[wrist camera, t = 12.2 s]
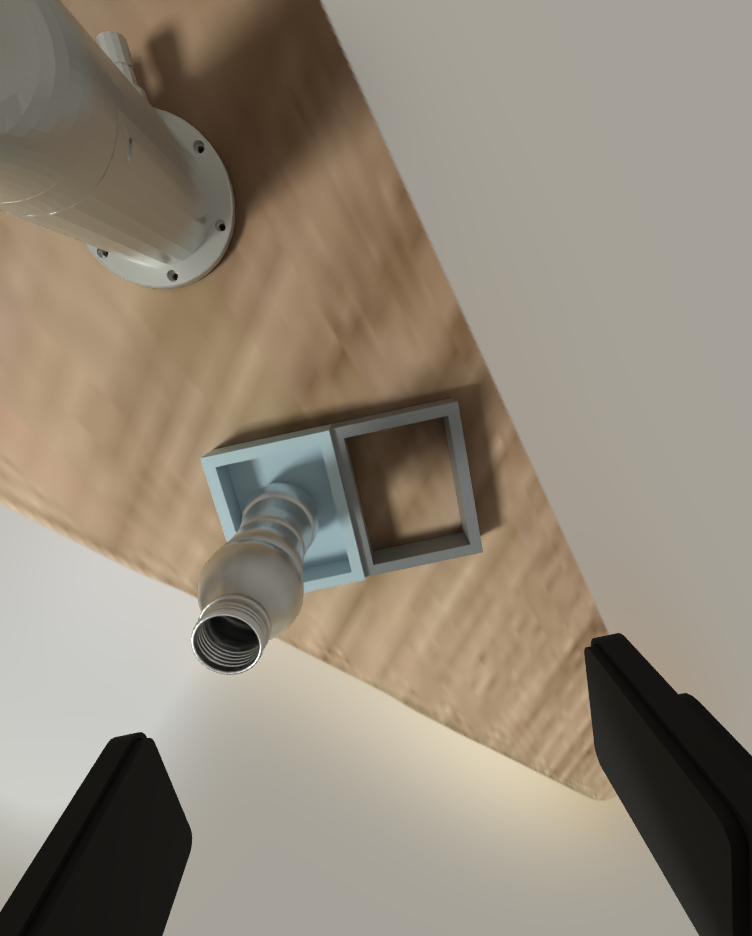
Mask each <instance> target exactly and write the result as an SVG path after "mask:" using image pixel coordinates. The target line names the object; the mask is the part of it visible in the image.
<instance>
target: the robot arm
mask: <svg viewBox="0 0 752 936" xmlns="http://www.w3.org/2000/svg"><path fill="white" fill-rule="evenodd" d="M96 42H97V43H96ZM96 42H95V41H94V39H93V38H92V37H91V36H90V35H89V34H88V32H87V31H86V30H85V29H84V28H83V26H82V25H81V24H80V23H79V22H78V20H77V19H76V18H75V17H74V16H73V15H72V14H71V12H70V11H69V10H68V9H67V8H66V7H65V6H64V5H63V4H62V2H61V1H60V0H0V211H3V212H6V213H8V214H11V215H13V216H16V217H19V218H21V219H24V220H26V221H29V222H32V223H34V224H37V225H39V226H42V227H45V228H47V229H50V230H52V231H55V232H57V233H60V234H63V235H65V236H68V237H70V238H73V239H76V240H78V241H81V242H83V243H84V244H85V246H86V247H87V249H88V250H89V251H90V252H91V254H92V255H93V256H94V257H95V258H96V259H97V260H98V261H99V262H100V263H101V264H102V265H103V266H105V267H106V268H107V269H108V270H110V271H111V272H112V273H114V274H115V275H117V276H119V277H121V278H123V279H125V280H127V281H129V282H132V283H135V284H137V285H141V286H145V287H149V288H154V289H173V288H179V287H184V286H187V285H189V284H192V283H194V282H197V281H198V280H200V279H201V278H203V277H204V276H206V275H207V274H209V273H210V272H211V271H212V270H213V269H214V267H215V266H216V265H217V264H218V263H219V262H220V260H221V259H222V257H223V256H224V254H225V252H226V251H227V249H228V246H229V243H230V241H231V238H232V236H233V230H234V224H235V199H234V193H233V187H232V184H231V181H230V178H229V176H228V173H227V170H226V168H225V166H224V164H223V163H222V161H221V159H220V157H219V155H218V154H217V153H216V151H215V150H214V149H213V147H212V146H211V144H210V143H209V142H208V141H207V140H206V139H205V138H204V136H203V135H202V134H201V133H200V132H199V131H198V130H197V129H196V128H194V127H193V126H192V125H190V124H189V123H188V122H186V121H185V120H183V119H182V118H180V117H178V116H176V115H174V114H172V113H170V112H168V111H164V110H161V109H157V108H153V107H152V106H151V105H150V103H149V102H148V98H147V95H146V92H145V90H143V89H142V88H141V87H139V86H138V84H137V81H136V78H135V68H134V65H133V61H132V58H131V54H130V51H129V48H128V44H127V41H126V39H125V38H124V36H123V35H121V34H119V33H117V32H111V31H107V32H102V33H100V34H99V35H97V38H96ZM202 148H204V149H205V150H204V152H202V153H200V149H202ZM222 225H225V226H226V229H225V230H224V231H221V226H222ZM106 252H108V256H106ZM175 274H178V279H177V280H175V279H174V275H175ZM584 654H585V663H586V672H587V681H588V691H589V700H590V709H591V718H592V727H593V736H594V745H595V751H596V755H597V757H598V760H599V763H600V765H601V767H602V769H603V771H604V772H605V774H606V776H607V778H608V779H609V781H610V783H611V784H612V786H613V788H614V790H615V791H616V793H617V795H618V796H619V798H620V800H621V802H622V803H623V805H624V807H625V809H626V810H627V812H628V814H629V815H630V817H631V818H632V820H633V822H634V824H635V826H636V827H637V829H638V831H639V832H640V834H641V836H642V838H643V839H644V841H645V843H646V845H647V846H648V848H649V850H650V852H651V853H652V855H653V857H654V858H655V860H656V862H657V863H658V865H659V867H660V869H661V870H662V872H663V874H664V876H665V877H666V879H667V881H668V883H669V884H670V886H671V888H672V889H673V891H674V893H675V895H676V896H677V898H678V900H679V901H680V903H681V905H682V906H683V908H684V910H685V912H686V914H687V915H688V917H689V919H690V920H691V922H692V924H693V925H694V927H695V929H696V931H697V932H698V934H699V936H752V756H751V755H750V754H749V753H748V752H747V751H746V750H745V749H744V748H743V747H742V746H741V745H740V743H738V741H737V740H736V739H735V738H734V737H733V736H732V735H731V734H730V733H729V732H728V731H727V730H726V729H725V728H724V727H723V726H722V725H721V724H720V723H719V722H718V721H717V720H716V719H715V718H714V717H713V716H712V715H711V713H710V712H709V711H708V710H707V709H706V708H705V707H704V706H703V705H702V704H701V703H700V702H699V701H698V700H697V699H695V698H694V697H693V696H691V695H689V694H687V693H683V694H677V693H676V691H675V690H674V689H673V688H672V687H671V686H670V685H669V684H668V683H667V682H666V681H665V680H664V678H663V677H662V676H661V675H660V674H659V673H658V672H657V671H656V670H655V669H654V668H653V667H652V666H651V664H650V663H649V662H648V661H647V660H646V659H645V658H644V657H643V656H642V655H641V654H640V653H639V651H638V650H637V649H636V648H635V647H634V646H633V645H632V644H631V643H630V642H629V641H628V640H627V639H626V637H625V636H623V635H622V634H620V633H617V634H612V635H607V636H602V637H597V638H593V639H592V641H591V647H586V648H585V650H584ZM191 845H192V833H191V829H190V826H189V824H188V822H187V819H186V817H185V814H184V812H183V809H182V807H181V805H180V802H179V800H178V798H177V795H176V793H175V790H174V788H173V785H172V783H171V781H170V778H169V776H168V773H167V771H166V769H165V766H164V764H163V761H162V759H161V756H160V754H159V752H158V749H157V747H156V745H155V742H154V741H153V739H151V738H147V737H146V735H145V734H144V733H142V732H139V733H133V734H129V735H124V736H119V737H115V738H113V739H111V740H110V741H109V742H108V743H107V745H106V747H105V748H104V750H103V751H102V753H101V754H100V756H99V757H98V759H97V761H96V762H95V764H94V766H93V767H92V768H91V770H90V772H89V773H88V775H87V776H86V778H85V780H84V781H83V783H82V784H81V786H80V787H79V789H78V790H77V792H76V794H75V795H74V797H73V798H72V800H71V802H70V803H69V805H68V806H67V808H66V809H65V811H64V812H63V814H62V816H61V817H60V819H59V820H58V822H57V824H56V825H55V827H54V828H53V830H52V832H51V833H50V834H49V836H48V838H47V839H46V841H45V843H44V844H43V846H42V847H41V849H40V850H39V852H38V853H37V855H36V857H35V858H34V860H33V861H32V863H31V864H30V866H29V868H28V869H27V871H26V872H25V874H24V875H23V877H22V879H21V880H20V882H19V883H18V885H17V886H16V888H15V890H14V891H13V893H12V895H11V896H10V898H9V899H8V901H7V902H6V904H5V905H4V907H3V909H2V910H1V912H0V936H162V935H163V932H164V929H165V926H166V923H167V920H168V917H169V914H170V911H171V908H172V905H173V902H174V899H175V896H176V893H177V890H178V887H179V884H180V881H181V878H182V875H183V872H184V869H185V866H186V863H187V860H188V857H189V854H190V851H191Z"/></svg>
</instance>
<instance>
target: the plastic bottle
mask: <svg viewBox="0 0 752 936" xmlns="http://www.w3.org/2000/svg"><path fill="white" fill-rule="evenodd" d="M318 529H319V516H318V511H317V508H316V505H315V503H314V501H313V499H312V498H311V497H310V495H309V494H308V493H307V492H305V491H304V490H303V489H302V488H300V487H298V486H296V485H293V484H290V483H284V482H277V483H272V484H269V485H267V486H264V487H263V488H261V489H259V490H258V491H256V492H255V493H254V494H253V495H252V496H251V497H250V498H249V500H248V502H247V503H246V506H245V509H244V512H243V516H242V523H241V525H240V528H239V530H238V531H237V532H236V534H235V535H234V536H233V537H232V539H230V540H229V541H228V542H227V543H226V544H224V545H223V546H222V547H221V548H220V549H219V550H217V551H216V552H215V553H214V555H213V556H212V557H211V558H210V559H209V560H208V561H207V562H206V564H205V566H204V567H203V569H202V571H201V574H200V578H199V584H198V602H199V607H200V609H201V614H200V616H199V619H198V622H197V624H196V625H195V627H194V629H193V633H192V636H191V645H192V650H193V652H194V654H195V656H196V658H197V659H198V660H199V661H200V662H201V663H202V664H203V665H204V666H205V667H207V668H208V669H210V670H212V671H214V672H217V673H220V674H227V675H231V674H239V673H243V672H245V671H247V670H249V669H250V668H252V667H253V666H254V665H255V664H256V663H257V662H258V660H259V659H260V657H261V655H262V652H263V649H264V648H265V646H266V645H267V643H268V640H271V639H273V638H276V637H277V636H279V635H280V634H282V633H283V632H284V631H285V630H286V629H287V628H288V627H289V626H290V625H291V624H292V623H293V622H294V620H295V619H296V617H297V616H298V614H299V612H300V610H301V607H302V603H303V594H304V581H303V562H304V556H305V554H306V552H307V550H308V549H309V547H310V546H311V544H312V543H313V541H314V539H315V537H316V535H317V533H318Z"/></svg>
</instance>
